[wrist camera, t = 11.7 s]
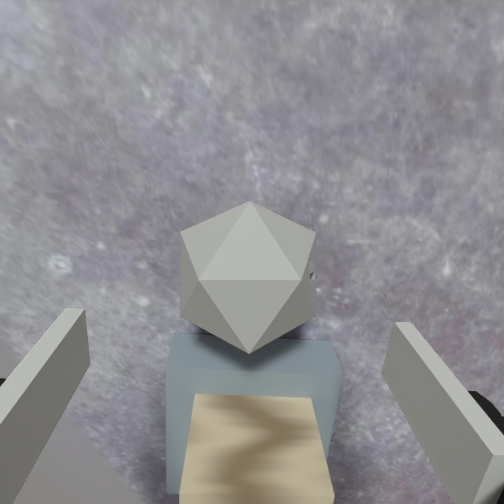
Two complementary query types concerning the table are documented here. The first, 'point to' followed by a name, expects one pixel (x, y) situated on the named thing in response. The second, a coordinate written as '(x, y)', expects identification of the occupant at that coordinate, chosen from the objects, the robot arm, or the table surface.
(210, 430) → the maple block
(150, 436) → the table surface
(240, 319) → the die
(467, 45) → the table surface
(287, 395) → the plinth
